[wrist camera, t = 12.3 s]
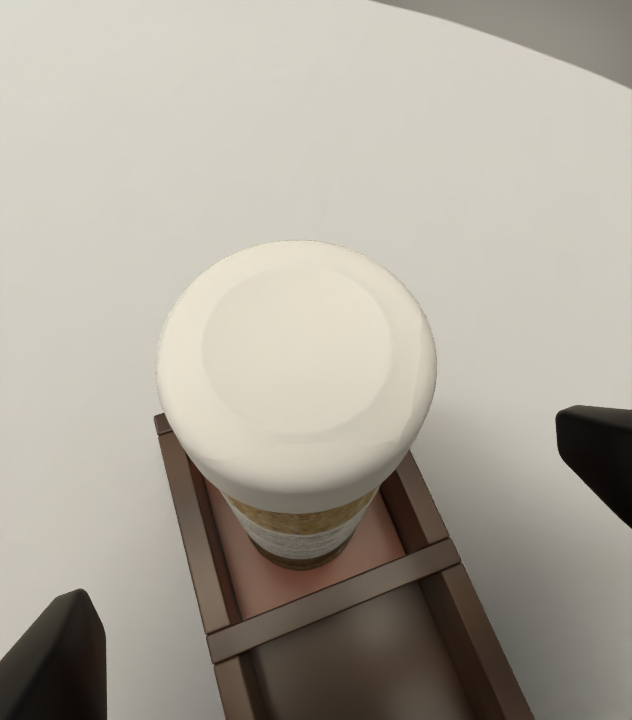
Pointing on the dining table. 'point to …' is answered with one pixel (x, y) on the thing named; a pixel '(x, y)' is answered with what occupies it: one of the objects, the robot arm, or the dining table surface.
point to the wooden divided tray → (342, 613)
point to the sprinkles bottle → (296, 389)
